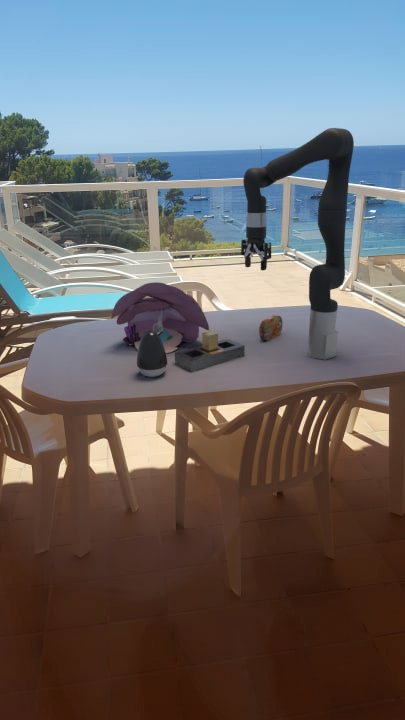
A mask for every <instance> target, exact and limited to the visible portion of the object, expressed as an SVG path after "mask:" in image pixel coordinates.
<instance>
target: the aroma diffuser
mask: <svg viewBox="0 0 405 720" xmlns="http://www.w3.org/2000/svg"><path fill="white" fill-rule="evenodd" d="M162 332H163V331H162V330H160V331H159V332H157V333H156V332H154V331H148V332H146V333H144V335H143V336H142V338H141V341H140V344H139V348H138V350H137V354H136V367H137V368H138V370H139V372H140V373H141V374H142V375H143V376H146V377H149V378H155V377H159V376H161V375H162V374H164V372H165V371H166V368H167V365H168V357H167V356H168V355H167V353H166V352H165V348H164V345H163V343H162V341H161V339H160V337H159V336H160V335H161V334H162Z"/></svg>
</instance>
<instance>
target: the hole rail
mask: <svg viewBox="0 0 405 720" xmlns="http://www.w3.org/2000/svg"><path fill="white" fill-rule="evenodd" d="M245 346H246V345H243V344H242V343H240V342H236V341H234V340H231V339H228V338H225V339H220V340H218V350H217V351H213V352H210V353H207V352H205V351H203V350H202V345H199V346H196V347H192V348H188V349H185V350H181V351H178V352H174V363H175V365H178V367H181V368H182V369H184V370H187V371H188V372H190V373H193V372H195V371H199V370H203V369H206V368H209V367H213V366H216V365H219V364H222V363H226V362H229V361H232V360H235V359H238V358H242V357H245V353H246V352H245V349H246V348H245Z"/></svg>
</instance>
